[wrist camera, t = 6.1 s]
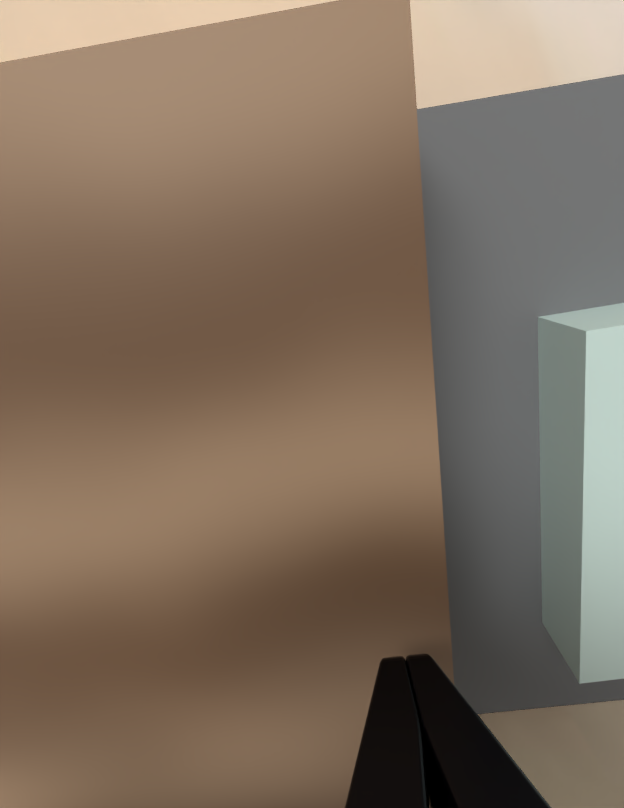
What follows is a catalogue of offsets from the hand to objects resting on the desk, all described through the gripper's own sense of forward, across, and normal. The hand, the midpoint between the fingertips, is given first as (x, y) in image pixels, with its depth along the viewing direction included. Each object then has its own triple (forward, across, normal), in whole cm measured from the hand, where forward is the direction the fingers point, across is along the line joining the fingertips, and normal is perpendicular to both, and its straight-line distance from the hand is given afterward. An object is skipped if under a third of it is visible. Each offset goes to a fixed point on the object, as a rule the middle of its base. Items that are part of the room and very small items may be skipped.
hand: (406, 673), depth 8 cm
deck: (+5, +5, 0) cm, 7 cm away
